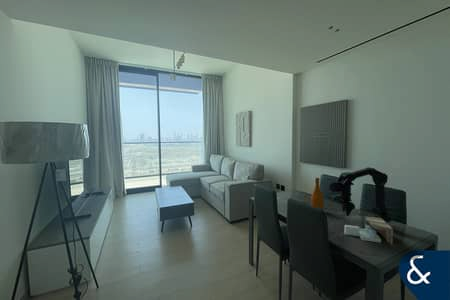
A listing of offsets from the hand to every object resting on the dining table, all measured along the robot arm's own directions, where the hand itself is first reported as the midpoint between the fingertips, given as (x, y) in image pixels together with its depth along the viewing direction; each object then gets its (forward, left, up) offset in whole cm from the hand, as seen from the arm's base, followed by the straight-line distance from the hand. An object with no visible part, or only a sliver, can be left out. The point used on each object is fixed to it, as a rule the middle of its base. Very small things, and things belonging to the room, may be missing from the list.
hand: (345, 213), depth 133 cm
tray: (+5, +8, -12) cm, 15 cm away
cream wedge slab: (+5, +17, -12) cm, 21 cm away
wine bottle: (-32, -14, -12) cm, 37 cm away
